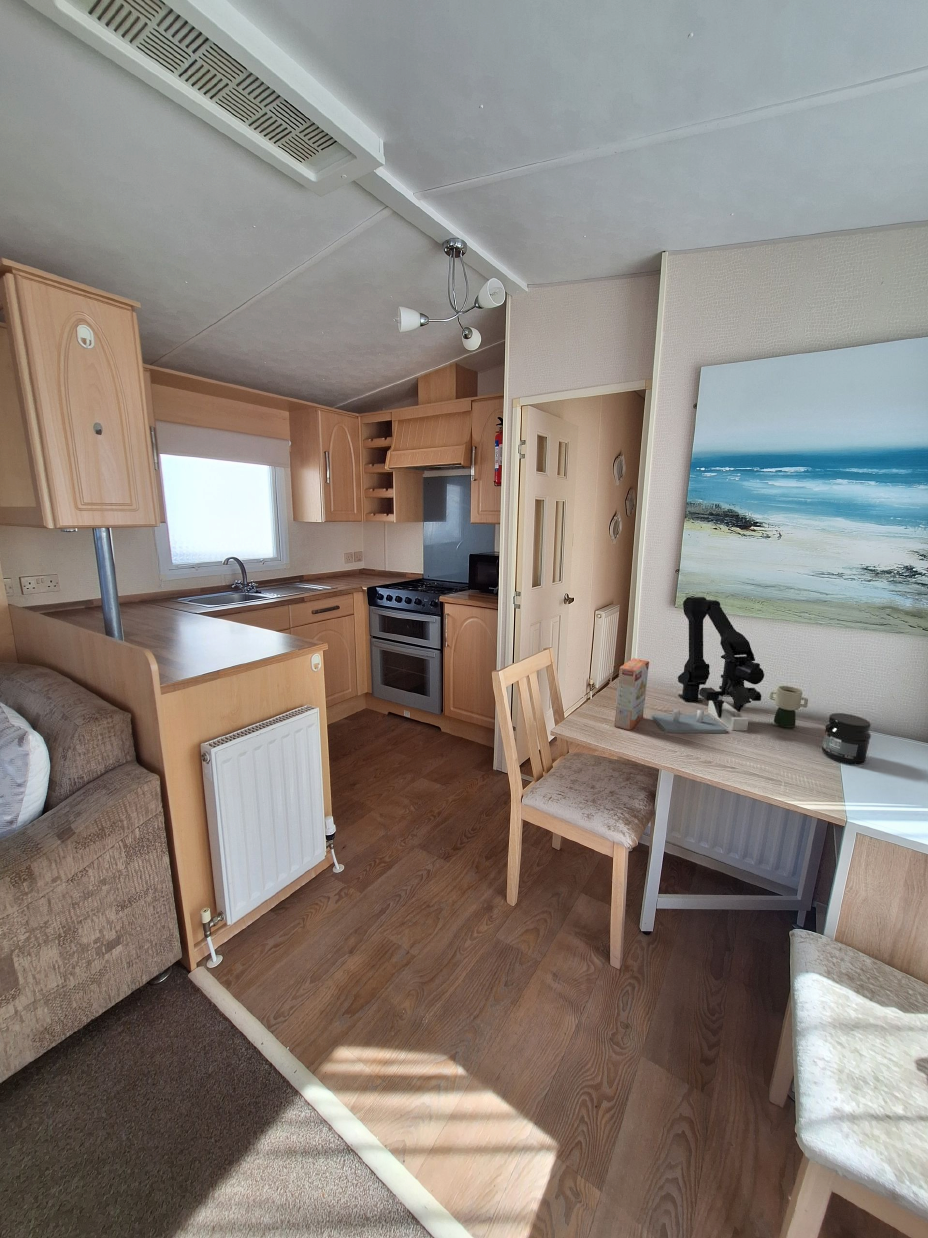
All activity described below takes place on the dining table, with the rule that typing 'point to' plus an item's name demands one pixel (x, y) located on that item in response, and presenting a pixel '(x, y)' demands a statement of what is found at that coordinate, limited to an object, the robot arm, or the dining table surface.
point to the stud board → (688, 723)
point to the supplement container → (846, 738)
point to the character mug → (787, 705)
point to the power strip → (730, 717)
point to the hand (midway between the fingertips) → (726, 717)
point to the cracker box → (631, 693)
